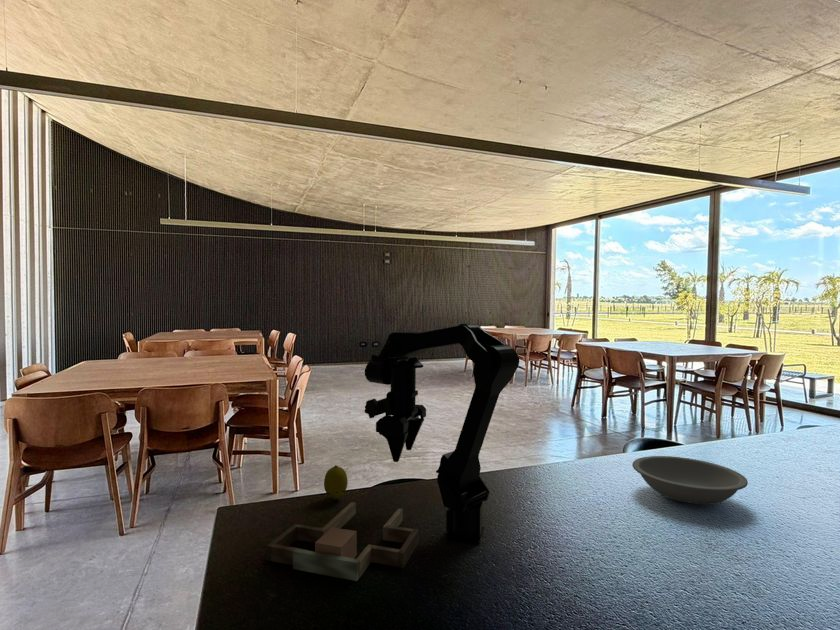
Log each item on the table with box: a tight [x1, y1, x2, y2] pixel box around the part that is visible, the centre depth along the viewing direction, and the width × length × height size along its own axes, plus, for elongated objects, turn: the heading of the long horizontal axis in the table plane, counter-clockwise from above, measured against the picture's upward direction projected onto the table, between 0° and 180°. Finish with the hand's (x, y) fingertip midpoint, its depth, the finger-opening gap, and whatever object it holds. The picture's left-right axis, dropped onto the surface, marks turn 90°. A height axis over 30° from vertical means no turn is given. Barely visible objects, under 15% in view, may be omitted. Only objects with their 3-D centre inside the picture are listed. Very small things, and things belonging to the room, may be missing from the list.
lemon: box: [323, 465, 349, 500], centre depth 106 cm, size 6×6×8 cm
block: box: [314, 527, 358, 559], centre depth 78 cm, size 5×6×4 cm
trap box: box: [266, 501, 420, 582], centre depth 85 cm, size 24×23×3 cm
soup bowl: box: [632, 455, 749, 505], centre depth 108 cm, size 24×24×7 cm
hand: (402, 455), depth 101 cm, fingers open, 9 cm apart
